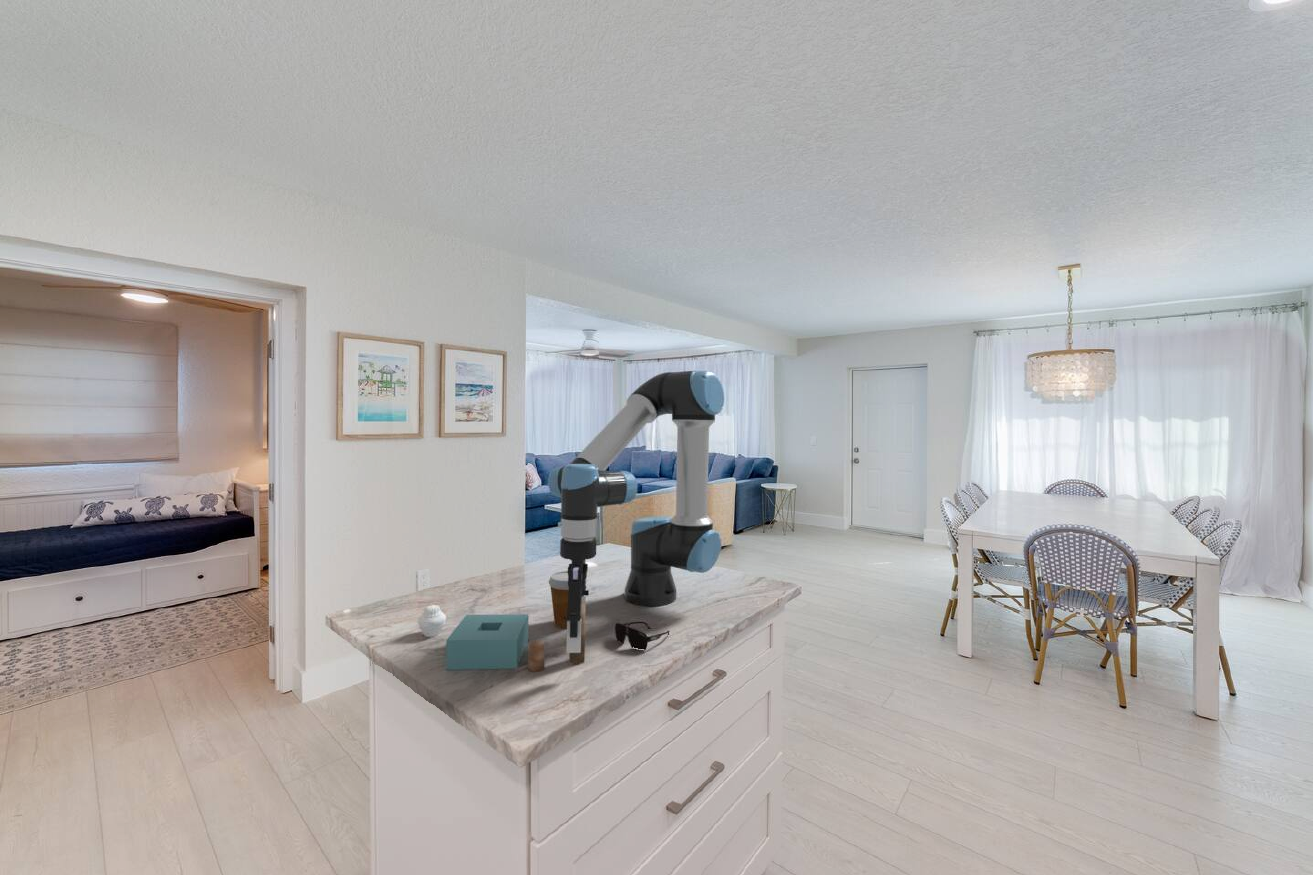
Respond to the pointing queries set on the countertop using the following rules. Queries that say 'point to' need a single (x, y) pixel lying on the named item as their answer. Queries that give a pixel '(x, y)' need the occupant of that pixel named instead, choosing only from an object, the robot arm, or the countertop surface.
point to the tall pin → (580, 657)
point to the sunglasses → (634, 635)
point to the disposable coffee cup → (560, 597)
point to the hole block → (487, 642)
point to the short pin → (536, 656)
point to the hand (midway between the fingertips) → (576, 638)
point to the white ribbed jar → (431, 621)
